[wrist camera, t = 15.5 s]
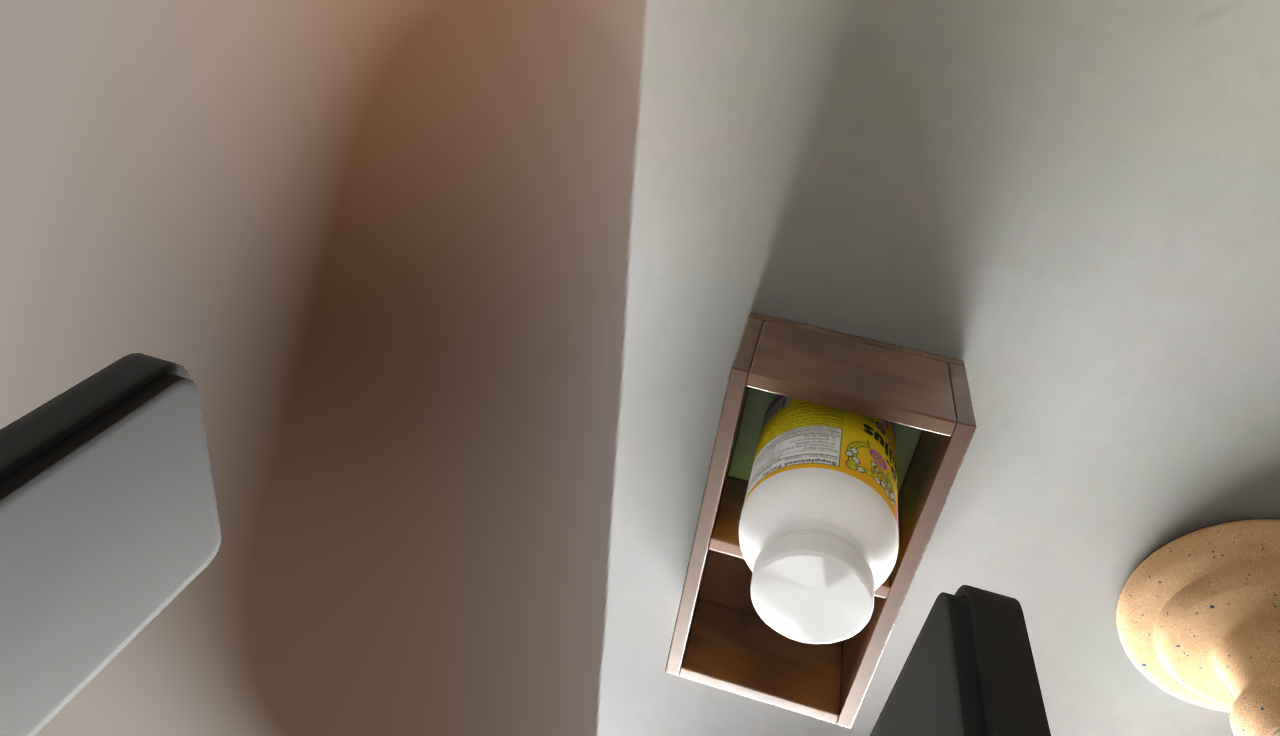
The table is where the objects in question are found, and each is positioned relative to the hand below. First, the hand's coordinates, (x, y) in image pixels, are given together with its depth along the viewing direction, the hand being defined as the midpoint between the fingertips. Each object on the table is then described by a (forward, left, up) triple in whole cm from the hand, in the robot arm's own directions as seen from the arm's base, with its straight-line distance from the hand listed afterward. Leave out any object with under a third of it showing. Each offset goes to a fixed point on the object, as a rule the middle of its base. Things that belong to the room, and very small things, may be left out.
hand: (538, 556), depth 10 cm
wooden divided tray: (+6, -21, -30) cm, 37 cm away
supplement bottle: (+6, -15, -30) cm, 34 cm away
